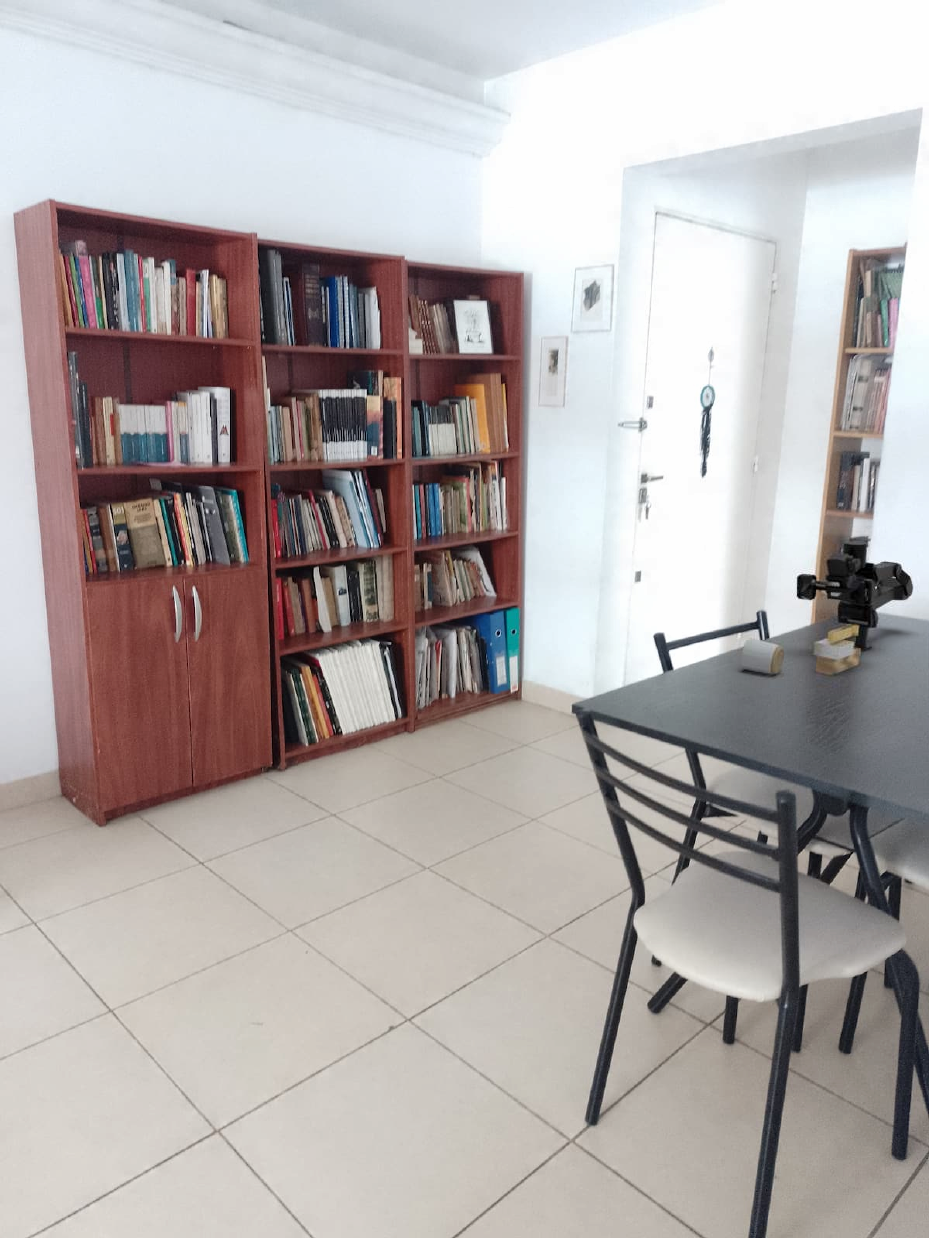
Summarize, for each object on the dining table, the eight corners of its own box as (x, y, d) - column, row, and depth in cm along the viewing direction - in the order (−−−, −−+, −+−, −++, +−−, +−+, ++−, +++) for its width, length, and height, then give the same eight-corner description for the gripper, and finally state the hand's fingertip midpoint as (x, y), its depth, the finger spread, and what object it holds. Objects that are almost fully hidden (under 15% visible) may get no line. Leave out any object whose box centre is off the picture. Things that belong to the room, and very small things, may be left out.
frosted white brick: (828, 649, 224) (829, 637, 223) (852, 654, 220) (853, 641, 219) (813, 654, 218) (814, 642, 218) (837, 659, 214) (839, 647, 214)
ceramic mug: (772, 678, 212) (776, 646, 211) (738, 671, 217) (741, 640, 216) (788, 669, 221) (791, 638, 219) (755, 663, 225) (758, 633, 224)
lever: (848, 632, 227) (849, 623, 226) (859, 634, 225) (860, 625, 224) (824, 640, 218) (825, 631, 217) (835, 643, 216) (837, 633, 215)
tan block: (843, 660, 229) (846, 632, 227) (859, 664, 226) (862, 635, 224) (815, 671, 219) (818, 642, 217) (831, 675, 216) (835, 645, 214)
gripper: (811, 550, 236) (783, 560, 226) (886, 554, 223) (859, 566, 213) (811, 592, 239) (783, 604, 228) (884, 599, 226) (858, 612, 215)
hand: (820, 596), depth 221 cm, fingers open, 9 cm apart
